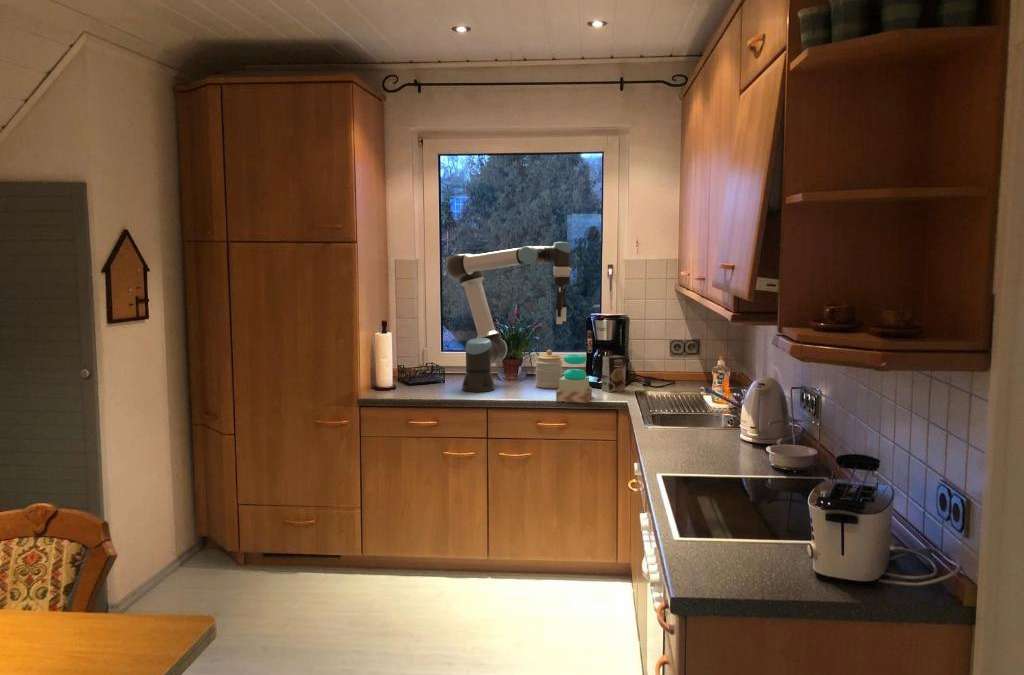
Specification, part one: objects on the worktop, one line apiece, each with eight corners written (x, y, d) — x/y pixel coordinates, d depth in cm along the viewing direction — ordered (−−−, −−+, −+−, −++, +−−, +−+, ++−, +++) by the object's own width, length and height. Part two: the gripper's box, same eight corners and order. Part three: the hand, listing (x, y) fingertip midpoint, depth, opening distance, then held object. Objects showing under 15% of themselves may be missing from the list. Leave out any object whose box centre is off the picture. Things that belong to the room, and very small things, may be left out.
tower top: (559, 390, 334) (559, 379, 333) (564, 386, 344) (564, 375, 344) (584, 392, 331) (584, 380, 330) (588, 387, 341) (589, 376, 341)
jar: (539, 389, 361) (539, 351, 359) (532, 384, 373) (532, 348, 371) (566, 388, 364) (566, 351, 362) (558, 383, 376) (558, 347, 374)
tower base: (556, 402, 333) (556, 391, 332) (560, 396, 346) (560, 385, 346) (588, 404, 330) (588, 392, 330) (591, 398, 344) (591, 387, 343)
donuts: (577, 353, 342) (591, 355, 334) (577, 375, 344) (591, 378, 335) (559, 354, 337) (572, 357, 329) (558, 377, 338) (572, 380, 330)
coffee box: (609, 392, 353) (610, 357, 351) (601, 390, 359) (602, 355, 357) (625, 390, 357) (626, 356, 355) (617, 388, 363) (618, 354, 361)
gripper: (566, 277, 338) (566, 325, 340) (573, 275, 362) (572, 320, 364) (549, 277, 339) (549, 325, 341) (557, 275, 363) (556, 320, 366)
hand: (561, 322), depth 353 cm, fingers open, 13 cm apart
